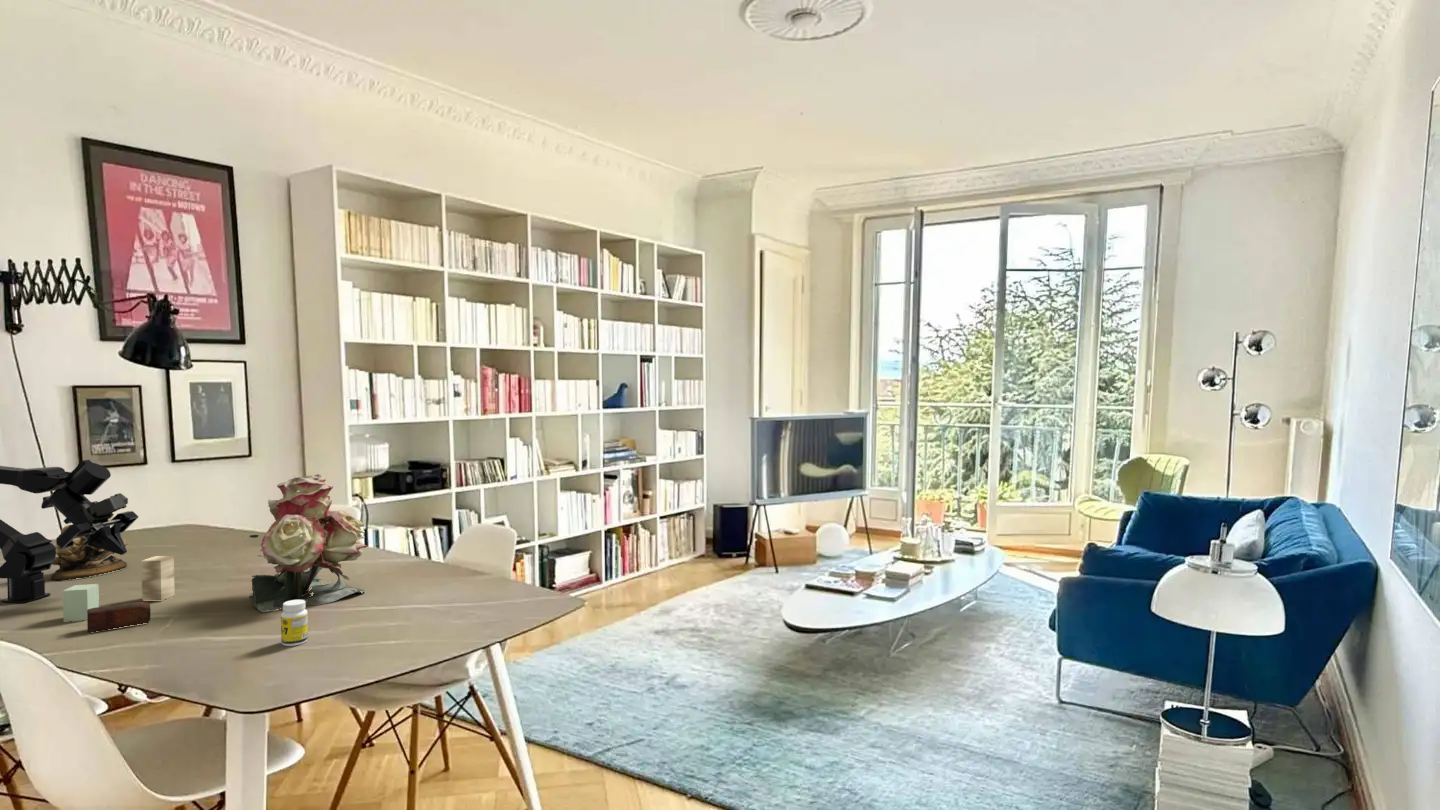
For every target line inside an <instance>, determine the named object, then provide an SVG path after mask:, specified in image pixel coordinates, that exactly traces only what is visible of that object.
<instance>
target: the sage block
mask: <svg viewBox="0 0 1440 810" xmlns="http://www.w3.org/2000/svg"><path fill="white" fill-rule="evenodd" d="M99 588H100V587H99V583H94V584H93V583H91V584H89V583H88V584H76V585H75V584H74V585H72V586H71V587H68V588H66V589H64V590H63V591H62V600H63V601H62V604H63V607H62V608H63V609H62V610H63V611H62V612H63V622H64V623H67V622H68V623H70V622H69V621H72V622H83V621H82V620H87V610H88V609H91V608H96V607H100V603H99V602H100V600H99V599H100V598H99V595H100V593H99V591H100V590H99Z"/></svg>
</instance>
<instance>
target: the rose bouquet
mask: <svg viewBox="0 0 1440 810" xmlns="http://www.w3.org/2000/svg"><path fill="white" fill-rule="evenodd" d="M326 481H327V480H326V477H324V476H322V475H321V474H320V473H319V474H315V475H304V476H301V477H299V476H298V477H296V476H295V475H294V476H293V478H290V479H288V480H287V481H284V482H280V483H278V484H277V485H276V487H277V489H279V490H280V491H281V494H282V498H280V499H276V500H275V499H273V500H272V499H268V501H267V504H268V506H267V507H269V513H270V514H271V515H273V517H274V520H275V521H274V522H273V523H271V526H269V528H268V530H267V531H266V533H265V534H264V536H263V538H262V539H261V544H260V546H261V549H260V550H259V552H262V555H263V556H262V555H257V557H262V558H264V559H266V561H267V564H271V565H275V566H274V569H275V572H276V574H274V575H271V574H255V575H251V577H252V578H251V591H253V593H252V594H251V595H249V596H248V598H250V599H251V602H252V605H253V607H254V608H256V609H257V610H258V611H259V612H261V613H271V612H270V611H272V612H274V611H273V610H276V609H280V608H281V610H283V603H284V602H287V601H291V600H304V601H305V606H319V605H324V604H329V603H334V602H335V601H338V600H340V599H342V598H344V597H347V596H350V595H352V594H355V593H358V594H362V595H363V593H361V592H360V591H364V592H365V590H364V588H363V589H362V588H358V587H355V586H354V587H353V586H350V585H347V583H346V584H343V583H342V581H341V577H342V578H343V579H344V580H347V581H350V577H349V576H347V575H346V574H344V572H343V571H344V570H343V569H342V564H341V563H340V562H351V561H357V560H358V559H359V557H361V556H362V555H363V553H364V551H363V549H365V548H366V549H367V547H368V545H366V544H364V543H363V542H362V539H365V538H366V537H365V536H364V535H362V534H365V533H366V532H365V530H363V529H362V527H364V526H365V524H364V523H363V522H362V521H361V520H359V519H357V518H355V516H353V515H352V514H350V513H349V512H347V511H345V510H330V507H331V505H332V500H331V496H330V495H329V494H330V492H331V491H332V490H333V488H334V486H333V485H331V484H326V483H325V482H326ZM244 536H245V535H242V537H243V538H244ZM259 536H260V535H259V534H250V535H249V536H248V537H249V538H251V539H252V538H253V539H254V538H255V539H256V538H258V537H259ZM322 569H328V570H329V571H330V572H331V573H333V574H335V575H336V576H337V581H336V582H330V583H331V584H329V583H326V584H325V585H317V584H319V583H321V582H320V581H324V580H323V579H322V578H319V577H318V576H317V575H318V574H319V573H320V571H321V570H322ZM340 576H341V577H340ZM321 584H322V583H321ZM310 586H311V587H312V589H311V590H310V591H308V590H309V587H310ZM311 587H310V588H311ZM347 588H355V589H357V591H355V590H349V589H347ZM312 592H313V593H314V594H313V596H311V597H309V596H308V597H309V598H307V597H306V599H305V594H306V593H307V594H310V593H312ZM307 594H306V595H307ZM302 595H303V596H304V597H303V596H302Z"/></svg>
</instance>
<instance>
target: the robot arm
mask: <svg viewBox="0 0 1440 810" xmlns="http://www.w3.org/2000/svg"><path fill="white" fill-rule="evenodd" d="M111 475H112V473H111V472H110V470H109V468H107V467H106V466H102V465H101V464H99V463H95V462H92V460H90V459H85V460H84V459H83V460H81V461H80V462H78V464H77V465H76V467H75V468H74V469H73V470H72V471H67V470H65V468H63V467H60V466H47V467H46V466H45V467H34V468H33V467H32V468H23V467H15V466H14V467H13V466H7V465H6V466H4V465H0V485H9V486H13V487H16V488H19V489H20V490H21V491H25V492H28V493H31V494H43V493H47V492H48V493H49V492H52V493H51V494H50V495H47V496H44V497H43V496H42V503H41V506H40V507H41V509H49V508H55V509H56V510H57V511H58V512H59V513H61V515H62V516H63V517H65V519H64V520H63V523H64V524H65V525H69V526H68V527H67V528H66V529H65V530H64V531H63V532H62V533H61V532H60V534H59V535H58V536H57V537H56V538H55V540H56V541H55V542H56V544H57V545H58V546H59V547H60V548H61V549H66V548H69V547H72V546H73V544H74V542H73V541H72V540H73V539H75V538H79V537H83V536H85V537H86V538H85V539H86V540H87V541H86V542H85V543H84V545H85V546H92V547H96V548H100V549H103V550H107V551H110V552H113V553H114V554H118V555H120V556H123V555H126V553H127V552H128V551H127V548H126V546H125V545H124V543H123V540H124V539H123V538H122V534H123V533H124V532H125V531H126V530H127V529H128V528H129V527H131V525H133V524H134V522H136V520H138V519H139V516H138V514H137V513H135V512H134V511H133V510H130V511H129V510H128V511H123V512H120V513H117V514H116V515H115V514H114V513H115V512H117V511H120V510H121V509H126V508H127V507H128V506H127V505H128V504H129V498H128V497H126V496H125V495H124V494H123V493H120V492H119V493H115V494H114V495H110V497H107V498H105V499H102V500H100V501H98V500H95V501H91V500H90V499H89V498H87V497H86V495H87V496H88V495H93V494H94V493H96V491H97V490H99V488H101V487H102V486H103V484H105V483H106V482H107V481H108V480H109V479H110V477H111ZM114 515H115V516H114ZM112 516H114V518H113V519H112V520H111V521H109V520H108V519H109V518H111V517H112ZM120 533H121V535H120ZM52 542H53V540H52V539H48V538H47V537H46V536H44V535H43V534H42V533H40V532H38V531H36V532H35V531H34V532H31V533H26V534H24V533H21V532H20V531H19V530H17V529H16V528H14V527H13V526H11V525H10V524H8V523H7V522H5V521H3V519H1V518H0V550H1V554H2V557H3V558H2V559H3V560H4V563H3V564H1V565H0V579H6V580H7V582H6V583H7V584H6V586H7V597H5V598H3V599H1V600H0V602H1V603H20V604H21V603H22V604H23V603H28V602H32V601H36V600H39V599H43V598H46V597H48V596H51V593H50V592H46V582H45V577H44V576H45V575H44V574H45V573H44V571H48V570H50V569H51V567H52V566H53V564H52V562H53V560H54V559H55V557H57V554H56V547H55V546H56V545H54V544H53V543H52Z"/></svg>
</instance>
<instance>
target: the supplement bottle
mask: <svg viewBox="0 0 1440 810" xmlns="http://www.w3.org/2000/svg"><path fill="white" fill-rule="evenodd" d="M308 614H309V613H308V610H307V609H306V605H305V601H304V600H302V599H296V600H291V601H287V602H284V603H283V609H282V612H281V614H280V623H281V625H280V626H281V627H280V629H281V630H280V632H281V633H280V634H281V635H280V636H281V637H280V638H281V639H280V641H281V645H283V647H284V646H285V647H295V646H299V645H302V644H305V643H306V642H307V641H309V640H308V639H309V637H308V636H309V633H308V628H309V627H308V626H309V625H308V623H309V621H308Z"/></svg>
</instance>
